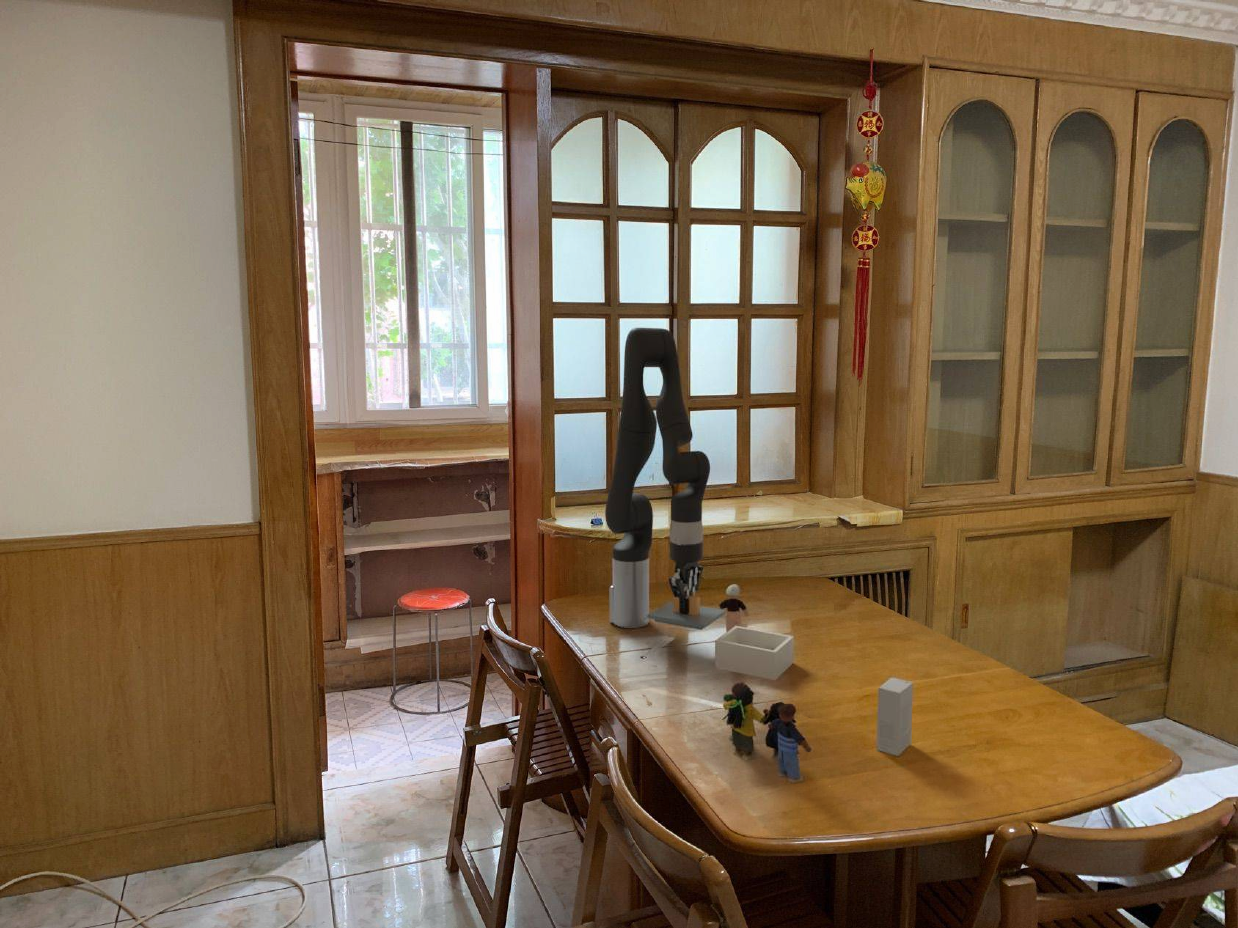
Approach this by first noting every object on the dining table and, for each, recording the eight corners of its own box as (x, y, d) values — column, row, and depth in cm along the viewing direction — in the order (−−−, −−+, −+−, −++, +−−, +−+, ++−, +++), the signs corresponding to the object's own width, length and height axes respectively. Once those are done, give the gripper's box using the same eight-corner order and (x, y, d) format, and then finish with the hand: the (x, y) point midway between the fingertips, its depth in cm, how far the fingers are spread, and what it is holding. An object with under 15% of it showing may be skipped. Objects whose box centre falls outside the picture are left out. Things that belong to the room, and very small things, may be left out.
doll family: (834, 774, 153) (837, 700, 151) (804, 793, 147) (806, 717, 144) (728, 730, 169) (729, 663, 167) (697, 747, 163) (697, 677, 161)
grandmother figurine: (747, 632, 222) (748, 582, 219) (748, 637, 218) (749, 587, 216) (716, 631, 222) (717, 582, 220) (716, 636, 219) (717, 586, 216)
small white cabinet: (714, 670, 198) (715, 640, 196) (735, 654, 207) (735, 625, 206) (774, 683, 190) (775, 652, 189) (793, 666, 200) (793, 636, 199)
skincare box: (888, 737, 166) (891, 676, 164) (911, 744, 163) (914, 682, 161) (875, 749, 161) (877, 686, 159) (898, 757, 158) (901, 693, 156)
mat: (640, 657, 205) (640, 655, 205) (669, 638, 217) (669, 636, 217) (703, 671, 197) (703, 669, 197) (729, 650, 209) (729, 648, 209)
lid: (647, 622, 205) (647, 597, 204) (670, 608, 214) (670, 584, 213) (704, 632, 197) (704, 607, 196) (725, 617, 207) (725, 593, 206)
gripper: (685, 530, 211) (685, 601, 213) (657, 543, 199) (657, 618, 202) (714, 534, 207) (713, 606, 209) (687, 547, 195) (687, 623, 198)
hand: (686, 612), depth 206 cm, fingers closed on lid, 1 cm apart
